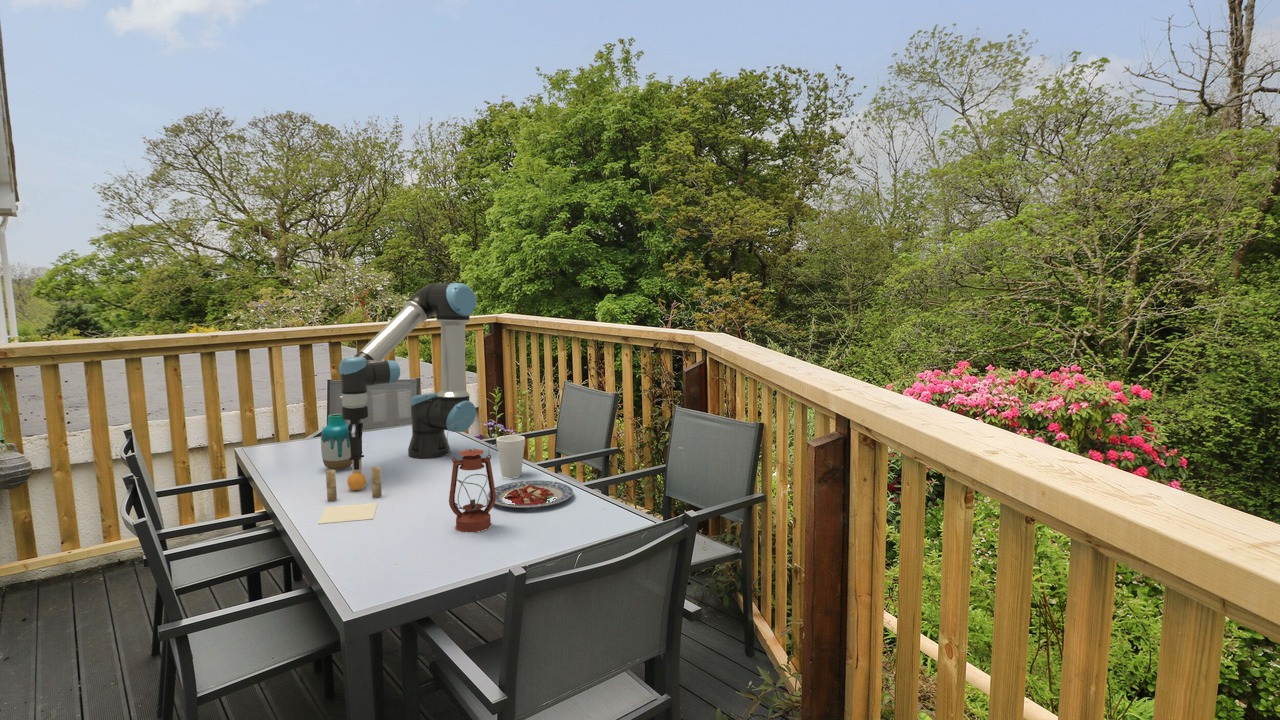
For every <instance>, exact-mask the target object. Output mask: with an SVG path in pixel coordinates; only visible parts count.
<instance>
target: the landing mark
mask: <svg viewBox="0 0 1280 720" xmlns="http://www.w3.org/2000/svg"><path fill="white" fill-rule="evenodd" d="M377 506H378V502H372V503H362V504H349V505H336V506H326V507H325V508H324V510H323V513H322V514H321V516H320V519H319V520H318V523H317V525H323V524H336V523H347V522H355V521H356V522H358V521H368V520H369V521H370V520H374V518H375V514H376V510H377Z"/></svg>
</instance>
